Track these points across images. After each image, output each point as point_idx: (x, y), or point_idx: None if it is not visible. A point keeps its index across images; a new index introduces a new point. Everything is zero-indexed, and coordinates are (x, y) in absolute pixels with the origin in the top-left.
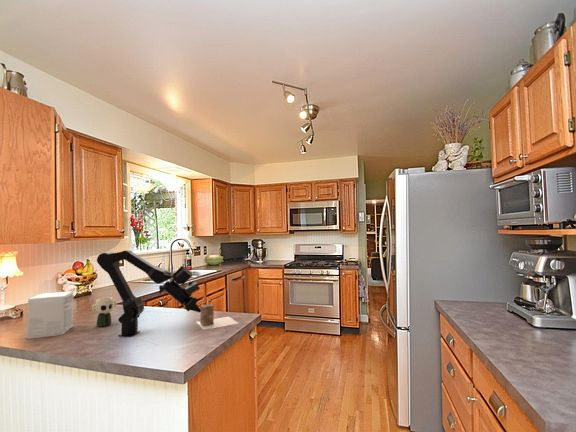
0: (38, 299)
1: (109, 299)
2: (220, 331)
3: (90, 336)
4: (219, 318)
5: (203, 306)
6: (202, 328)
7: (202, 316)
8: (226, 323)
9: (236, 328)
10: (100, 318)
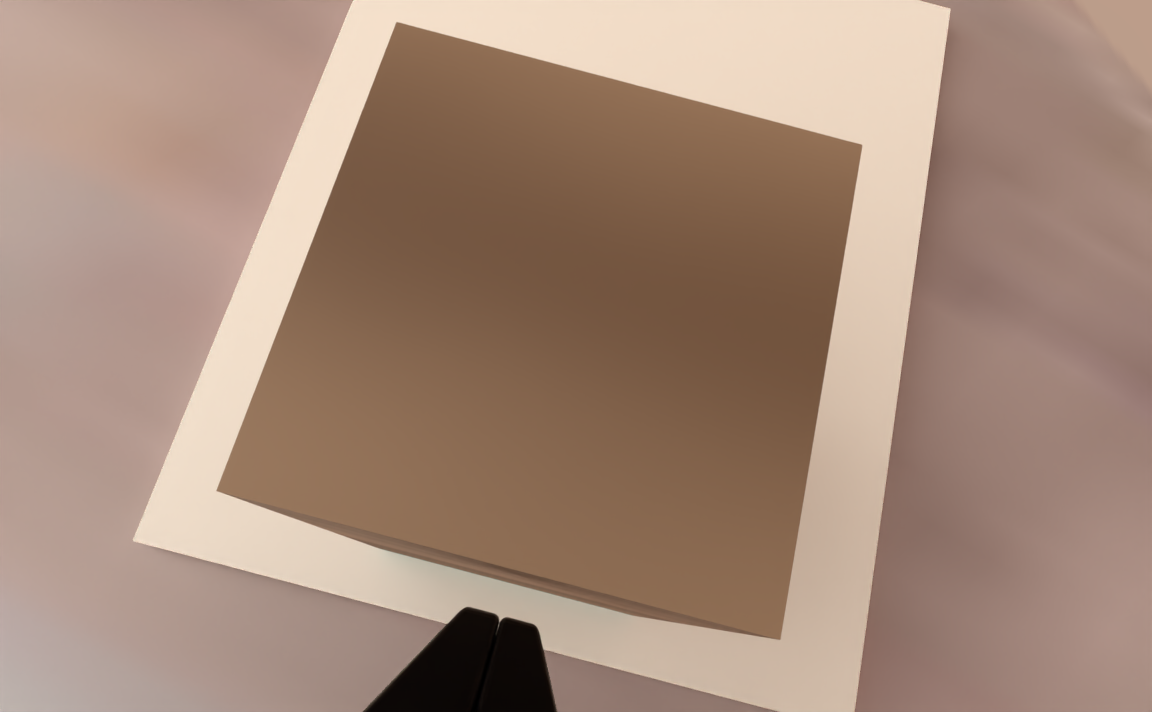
0: None
1: None
2: (1095, 468)
3: None
4: (371, 48)
5: (603, 520)
6: (744, 695)
7: (597, 602)
8: None
9: (1119, 172)
10: None
